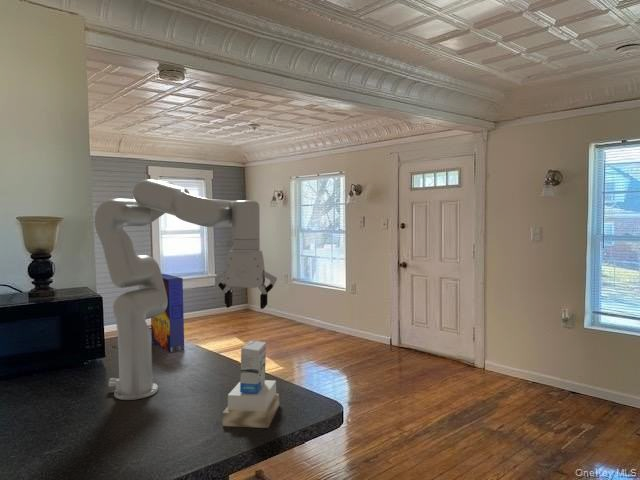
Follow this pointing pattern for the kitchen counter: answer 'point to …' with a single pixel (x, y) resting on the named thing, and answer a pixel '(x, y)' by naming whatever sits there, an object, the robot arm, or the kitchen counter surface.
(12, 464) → the kitchen counter surface
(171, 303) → the cereal box
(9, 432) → the kitchen counter surface
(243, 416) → the lower block
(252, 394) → the upper block
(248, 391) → the ink box
